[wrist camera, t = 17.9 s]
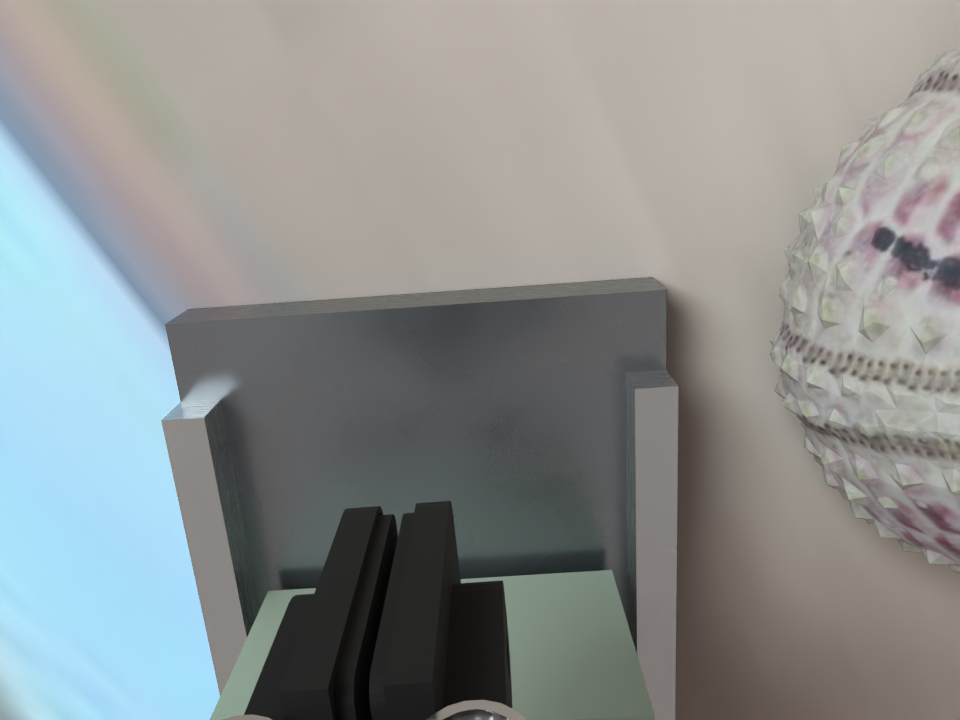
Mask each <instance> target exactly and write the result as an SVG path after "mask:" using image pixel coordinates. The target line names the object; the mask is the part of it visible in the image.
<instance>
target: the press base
mask: <svg viewBox="0 0 960 720" xmlns="http://www.w3.org/2000/svg"><path fill="white" fill-rule="evenodd" d="M666 293H667V290H666V289H665V288H664V287H663V286H662V285H661V284H660V283H659V282H657V281H656V280H655V279H654V278H653V277H648V278H634V279H619V280H605V281H591V282H576V283H562V284H547V285H533V286H518V287H504V288H489V289H475V290H460V291H446V292H432V293H417V294H403V295H388V296H374V297H359V298H345V299H330V300H316V301H301V302H287V303H273V304H258V305H244V306H229V307H215V308H200V309H188V310H186V311H185V312H183V313H182V314H180V315H179V316H177V317H176V318H174V319H172V320H171V321H169V322H168V323H166V324H165V326H166V331H167V336H168V341H169V346H170V351H171V355H172V360H173V365H174V370H175V375H176V380H177V385H178V390H179V395H180V400H181V402H180V403H179V404H178V405H177V406H176V407H175V408H174V409H173V410H172V411H171V412H170V413H169V414H168V415H167V416H166V417H164V418H163V419H162V420H161V421H162V425H163V430H164V435H165V439H166V444H167V449H168V453H169V458H170V463H171V467H172V472H173V477H174V482H175V486H176V491H177V496H178V500H179V505H180V510H181V514H182V519H183V524H184V528H185V533H186V538H187V542H188V547H189V552H190V556H191V561H192V566H193V570H194V575H195V580H196V585H197V589H198V594H199V599H200V603H201V608H202V613H203V617H204V622H205V627H206V631H207V636H208V641H209V645H210V650H211V655H212V659H213V664H214V669H215V673H216V678H217V683H218V688H219V692H220V697H221V694H222V692H223V690H224V688H225V685H226V683H227V681H228V679H229V677H230V674H231V672H232V670H233V668H234V666H235V663H236V661H237V659H238V657H239V654H240V652H241V650H242V648H243V646H244V643H245V641H246V639H247V637H248V635H249V632H250V630H251V628H252V626H253V623H254V621H255V619H256V617H257V615H258V612H259V610H260V608H261V606H262V604H263V601H264V599H265V597H266V595H267V592H268V591H275V590H291V589H308V588H316V587H317V584H318V582H319V579H320V576H321V573H322V571H323V568H324V565H325V562H326V559H327V557H328V554H329V551H330V548H331V545H332V543H333V540H334V537H335V534H336V531H337V529H338V526H339V523H340V520H341V517H342V515H343V512H344V510H345V509H347V508H360V507H373V506H380V507H381V508H382V511H383V515H388V514H394V516H395V519H396V524H397V532H398V536H399V531H400V526H401V521H402V517H403V514H404V513H414V511H415V506H416V503H427V502H440V501H451V503H452V509H453V517H454V526H455V535H456V543H457V552H458V561H459V570H460V579H471V578H488V577H504V576H520V575H537V574H553V573H569V572H586V571H602V570H612V572H613V575H614V579H615V582H616V586H617V589H618V592H619V596H620V599H621V602H622V606H623V609H624V613H625V616H626V619H627V623H628V626H629V630H630V633H631V636H632V640H633V643H634V646H635V650H636V653H637V657H638V660H639V663H640V667H641V670H642V674H643V677H644V680H645V684H646V687H647V690H648V694H649V697H650V701H651V704H652V707H653V711H654V714H655V720H675V688H676V589H677V489H678V389H679V386H678V385H677V383H676V382H675V381H674V379H673V378H672V377H671V375H670V374H669V373H668V372H667V370H666Z"/></svg>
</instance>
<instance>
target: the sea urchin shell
mask: <svg viewBox="0 0 960 720" xmlns="http://www.w3.org/2000/svg"><path fill="white" fill-rule="evenodd" d="M814 192H815V200H816V202H815V203H814V204H813V205H811V206H810V207H808V208H807V209H805V210H804V211H802V212H801V213H799V222H800V233H801V234H800V235H799V236H798V237H797V238H796V239H795V240H794V241H793V242H792V243H791V244H790V245H789V246H788V247H787V248H786V249H785V250H784V251H785V254H786V257H787V260H788V263H789V267H790V270H789V272H788V274H787V276H786V278H785V280H784V282H783V284H782V285H781V287H780V292H779V296H780V298H781V299H782V301H783V302H784V321H783V323H782V326H781V328H780V329H779V331H778V332H777V333H776V334H775V335H774V336H773V337H772V339H771V340H770V343H771V344H772V346H773V349H772V351H771V353H770V355H771V357H772V360H773V362H774V363H775V364H776V365H777V366H778V367H779V368H780V370H781V375H780V378H779V380H778V383H777V385H776V388H775V390H774V391H775V392H776V393H778V394H779V395H780V396H782V397H783V398H784V400H783V402H782V403H781V405H782V406H783V407H785V408H787V409H788V410H790V411H792V412H793V413H795V414H797V416H798V418H799V419H800V420H801V421H802V423H801V426H802V427H803V428H804V429H805V440H804V447H805V448H806V449H807V450H808V451H809V452H810V453H811V454H813V455H814V459H815V460H816V461H817V462H818V463H819V464H820V465H822V470H823V474H824V479H825V482H826V483H827V485H829V486H831V487H833V488H836V489H838V491H839V492H840V494H841V495H842V496H843V498H845V499H847V500H849V501H850V504H851V506H852V509H853V512H854V515H855V517H856V518H864V519H865V520H866V521H867V522H868V523H870V524H874V525H875V526H876V528H877V530H878V533H879V535H880V537H884V538H897V539H898V541H899V543H900V545H901V547H902V549H903V551H913V552H923V553H924V555H925V557H926V559H927V561H928V563H929V564H948V565H949V566H950V567H951V568H952V569H953V570H954V571H955V572H957V573H959V574H960V51H952V52H944V53H938V55H937V57H936V58H935V60H934V62H933V64H932V66H931V68H930V69H928V70H924V71H922V72H921V74H920V76H919V78H918V79H917V81H916V83H915V85H914V87H913V89H912V91H911V93H910V95H909V97H908V99H907V100H906V101H905V102H904V103H903V104H901V105H900V106H899V107H897V108H896V109H892V110H888V111H887V112H886V113H885V114H883V115H882V116H881V117H878V118H875V119H873V120H870V121H867V124H866V126H865V128H864V130H863V133H862V135H861V137H860V139H859V141H857V142H853V143H850V144H846V145H842V150H841V154H840V159H839V163H838V166H837V169H836V173H835V175H834V176H832V177H831V178H830V179H829V180H828V181H826V182H825V183H823V184H822V185H820V186H819V187H817V188H815V189H814Z"/></svg>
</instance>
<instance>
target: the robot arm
mask: <svg viewBox="0 0 960 720" xmlns="http://www.w3.org/2000/svg"><path fill="white" fill-rule="evenodd" d="M222 720H526V719H525V718H524V717H523V716H522V715H521V714H520V713H518V712H517V711H516V710H514V709H512V685H511V666H510V650H509V637H508V625H507V614H506V603H505V593H504V584H503V580H501V581H487V582H473V583H461V579H460V570H459V561H458V552H457V543H456V535H455V526H454V517H453V509H452V503H451V501H440V502H427V503H416V506H415V511H414V513H404V514H403V517H402V521H401V526H400V531H399V536H398V532H397V524H396V519H395V516H394V514H388V515H383V511H382V508H381V507H380V506H373V507H360V508H347V509H345V510H344V512H343V515H342V517H341V520H340V523H339V526H338V529H337V531H336V534H335V537H334V540H333V543H332V545H331V548H330V551H329V554H328V557H327V559H326V562H325V565H324V568H323V571H322V573H321V576H320V579H319V582H318V584H317V587H316V590H315V593H314V594H302V595H295V596H293V597H292V598H291V600H290V602H289V604H288V606H287V609H286V611H285V614H284V616H283V619H282V621H281V624H280V626H279V629H278V631H277V634H276V636H275V639H274V641H273V644H272V646H271V648H270V651H269V653H268V656H267V658H266V661H265V663H264V666H263V668H262V671H261V673H260V676H259V678H258V681H257V683H256V686H255V688H254V691H253V693H252V696H251V698H250V701H249V703H248V706H247V708H246V711H245V713H244V715H238V716H232V717H229V718H226V719H222Z"/></svg>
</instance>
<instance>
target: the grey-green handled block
mask: <svg viewBox="0 0 960 720" xmlns="http://www.w3.org/2000/svg"><path fill="white" fill-rule="evenodd" d="M501 580H503V584H504V593H505V603H506V614H507V625H508V637H509V650H510V666H511V685H512V709H514V710H516V711H517V712H518V713H520V714H521V715H522V716H523V717H524V718H525V719H526V720H655V714H654V711H653V707H652V704H651V701H650V697H649V694H648V690H647V687H646V684H645V680H644V677H643V674H642V670H641V667H640V663H639V660H638V657H637V653H636V650H635V646H634V643H633V640H632V636H631V633H630V630H629V626H628V623H627V619H626V616H625V613H624V609H623V606H622V602H621V599H620V596H619V592H618V589H617V586H616V582H615V579H614V575H613V572H612V570H602V571H586V572H569V573H553V574H537V575H520V576H504V577H488V578H471V579H461V583H473V582H487V581H501ZM315 590H316V588H308V589H291V590H275V591H268V592H267V595H266V597H265V599H264V601H263V604H262V606H261V608H260V610H259V612H258V615H257V617H256V619H255V621H254V623H253V626H252V628H251V630H250V632H249V635H248V637H247V639H246V641H245V643H244V646H243V648H242V650H241V652H240V654H239V657H238V659H237V661H236V663H235V666H234V668H233V670H232V672H231V674H230V677H229V679H228V681H227V683H226V685H225V688H224V690H223V692H222V694H221V697H220V699H219V701H218V703H217V705H216V708H215V710H214V712H213V714H212V717H211V719H210V720H222V719H226V718H229V717H232V716H238V715H244V713H245V711H246V708H247V706H248V703H249V701H250V698H251V696H252V693H253V691H254V688H255V686H256V683H257V681H258V678H259V676H260V673H261V671H262V668H263V666H264V663H265V661H266V658H267V656H268V653H269V651H270V648H271V646H272V644H273V641H274V639H275V636H276V634H277V631H278V629H279V626H280V624H281V621H282V619H283V616H284V614H285V611H286V609H287V606H288V604H289V602H290V600H291V598H292V597H293V596H295V595H302V594H314V593H315Z"/></svg>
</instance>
